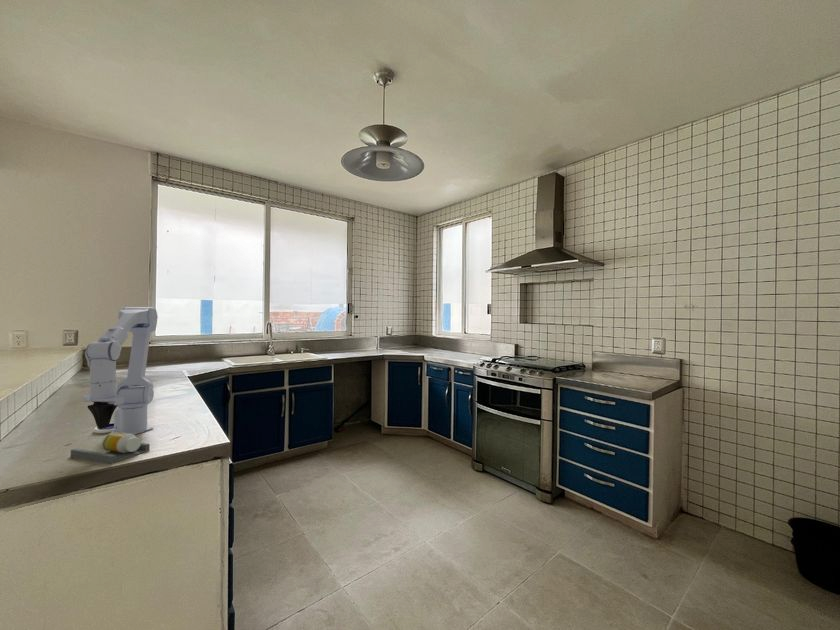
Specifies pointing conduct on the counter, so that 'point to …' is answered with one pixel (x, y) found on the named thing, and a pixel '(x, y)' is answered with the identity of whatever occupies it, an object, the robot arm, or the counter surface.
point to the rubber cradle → (108, 454)
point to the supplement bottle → (121, 442)
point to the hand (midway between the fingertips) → (103, 427)
